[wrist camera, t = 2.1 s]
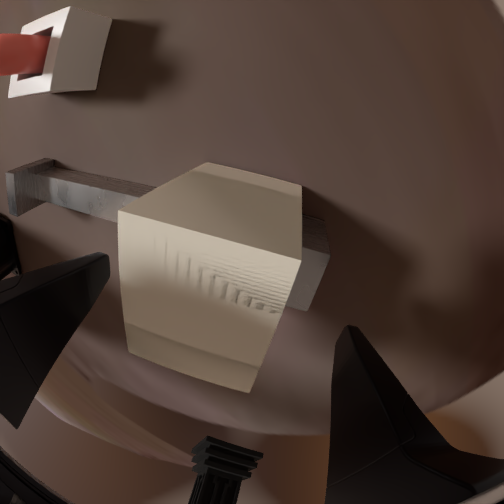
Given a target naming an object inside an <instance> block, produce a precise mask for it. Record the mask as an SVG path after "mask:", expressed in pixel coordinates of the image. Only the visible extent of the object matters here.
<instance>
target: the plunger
mask: <svg viewBox="0 0 504 504" xmlns="http://www.w3.org/2000/svg"><path fill="white" fill-rule="evenodd" d="M50 38H51V36H42V35H29V34H0V76H4V75H15V74H32V73H43V69H44V64H45V59H46V55H47V50H48V46H49V42H50Z"/></svg>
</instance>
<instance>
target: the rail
mask: <svg viewBox="0 0 504 504" xmlns="http://www.w3.org/2000/svg"><path fill="white" fill-rule="evenodd" d="M6 184H7V196H8V205H9V212H10V214H12V215H14V216H17V217H18V216H20V215H22V214H24V213H25V212H27V211H29V210H31V209H33V208H35V207H37V206H39V205H41V204H43V203H45V202H49V203H53V204H56V205H59V206H63V207H66V208H69V209H73V210H76V211H79V212H83V213H86V214H89V215H93V216H96V217H99V218H103V219H106V220H110V221H113V222H116V223H118V210H119V209H121V208H123V207H124V206H126V205H128V204H129V203H131V202H133V201H134V200H136V199H138V198H140V197H141V196H143V195H145V194H147V193H148V192H150V191H152V190H154V189H156V187H151V186H147V185H142V184H137V183H133V182H128V181H123V180H119V179H114V178H109V177H104V176H99V175H94V174H89V173H83V172H78V171H73V170H67V169H62V168H56V167H54V159H48V158H44V159H41V160H38V161H35V162H32V163H29V164H26V165H23V166H21V167H18V168H15V169H13V170H10V171H8V172H6ZM330 256H331V254H330V248H329V243H328V238H327V233H326V228H325V223H324V220H321V219H317V218H314V217H311V216H307V215H304V214H302V261H301V263H300V266H299V269H298V272H297V275H296V277H295V280H294V283H293V286H292V288H291V291H290V294H289V296H288V299H287V302H286V304H285V306H287V307H291V308H295V309H299V310H303V311H308V309H309V306H310V304H311V302H312V299H313V297H314V295H315V293H316V290H317V288H318V285H319V283H320V281H321V278H322V276H323V273H324V271H325V269H326V266H327V264H328V261H329V259H330Z"/></svg>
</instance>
